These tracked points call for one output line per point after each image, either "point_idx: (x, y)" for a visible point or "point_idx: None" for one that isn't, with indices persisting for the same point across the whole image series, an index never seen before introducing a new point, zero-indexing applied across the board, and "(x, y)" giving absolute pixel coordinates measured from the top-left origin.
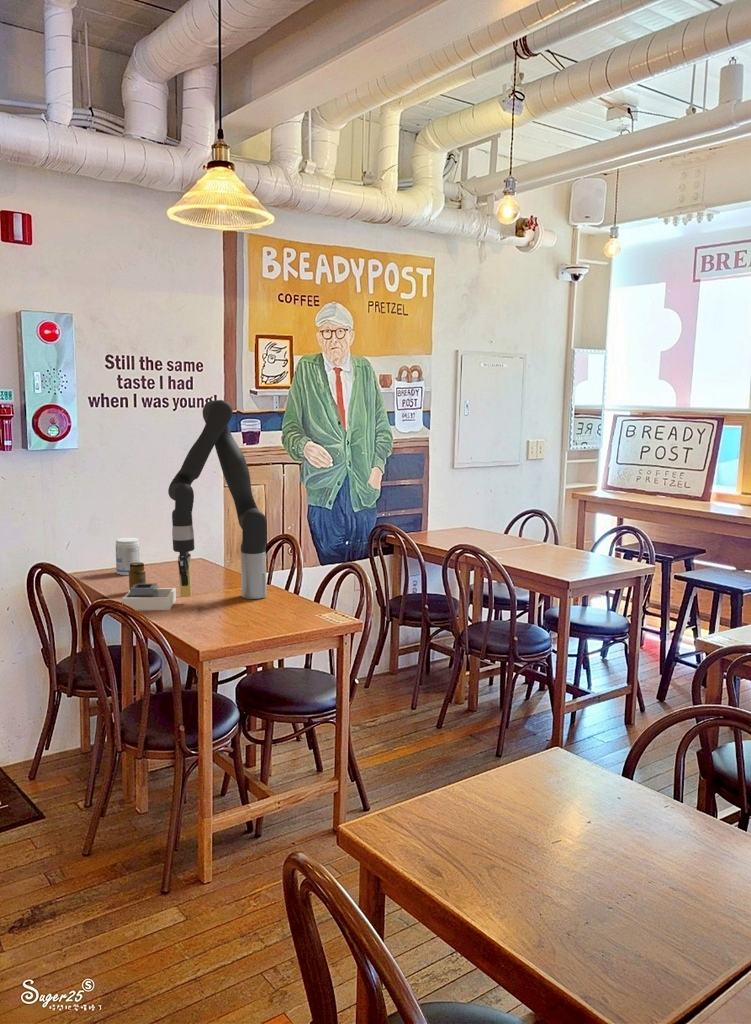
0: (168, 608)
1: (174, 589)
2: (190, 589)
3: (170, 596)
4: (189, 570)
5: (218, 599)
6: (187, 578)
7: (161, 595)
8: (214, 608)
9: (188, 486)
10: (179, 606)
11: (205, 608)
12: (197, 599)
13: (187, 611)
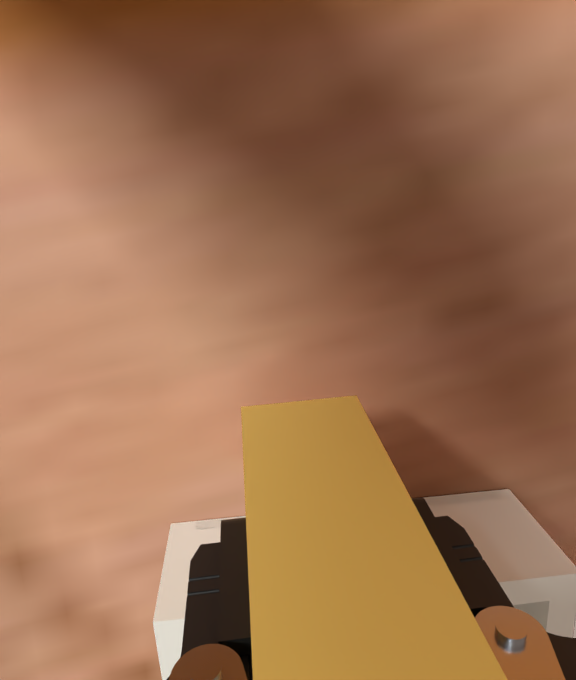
0: (521, 510)
1: None
2: (360, 435)
3: None
4: (470, 667)
5: (41, 118)
6: (459, 567)
7: None
8: (436, 97)
9: None
10: None
11: (429, 197)
12: (72, 353)
13: (519, 346)
